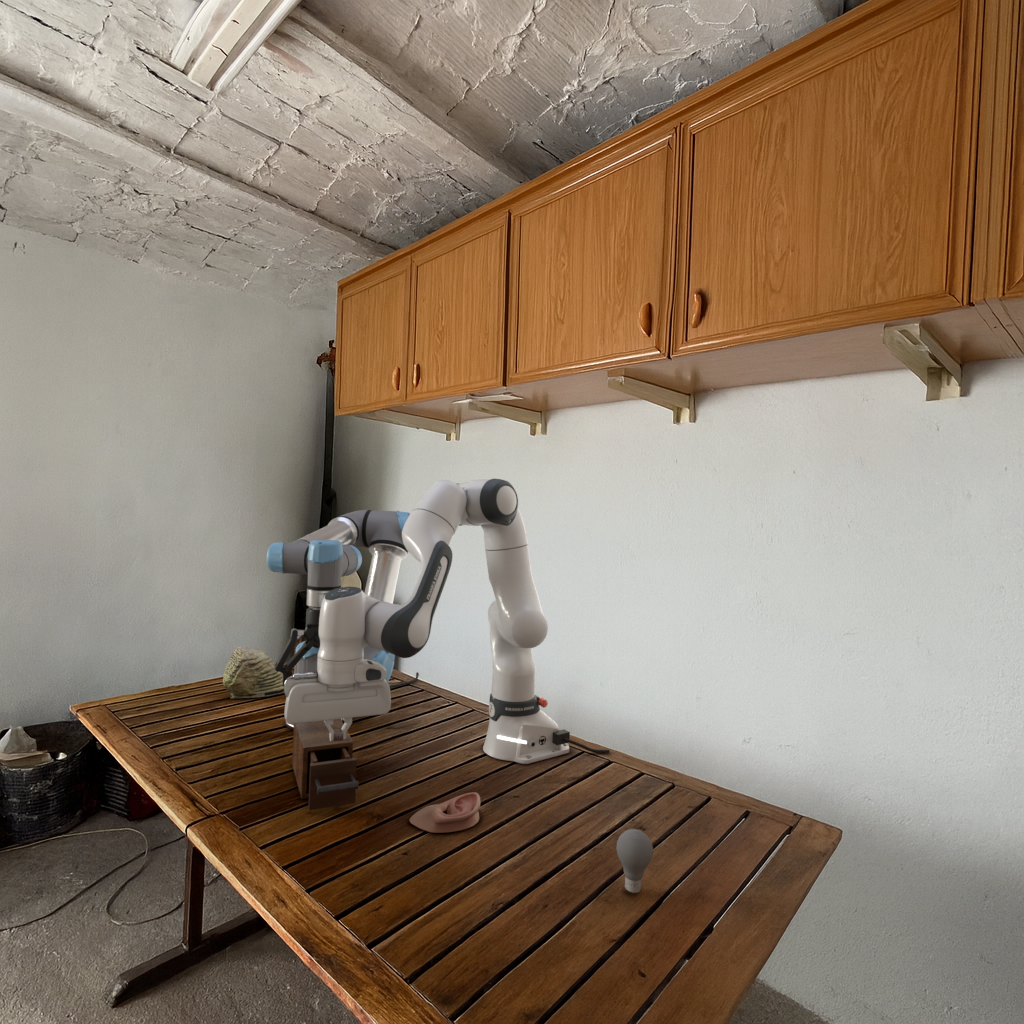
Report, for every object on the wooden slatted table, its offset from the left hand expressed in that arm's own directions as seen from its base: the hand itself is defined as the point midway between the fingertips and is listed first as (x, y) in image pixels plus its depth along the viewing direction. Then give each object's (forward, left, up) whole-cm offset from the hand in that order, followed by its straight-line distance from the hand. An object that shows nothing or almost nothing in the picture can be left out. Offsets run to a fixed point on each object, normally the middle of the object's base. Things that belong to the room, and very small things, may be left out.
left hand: (320, 698), depth 147 cm
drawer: (+7, +14, -16) cm, 22 cm away
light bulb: (-8, +77, -17) cm, 79 cm away
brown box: (+2, +4, -17) cm, 17 cm away
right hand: (+11, +21, -1) cm, 24 cm away
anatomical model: (-4, +38, -17) cm, 42 cm away
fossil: (-18, -59, -17) cm, 64 cm away
